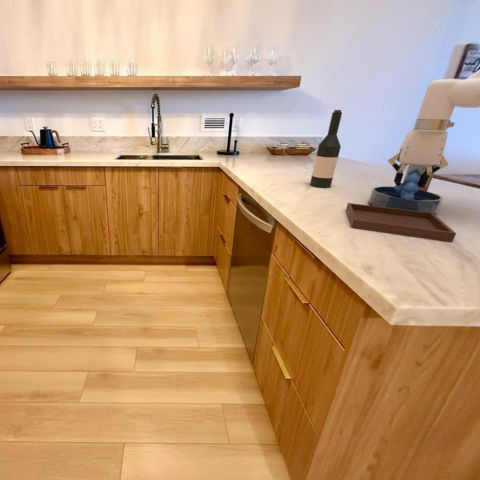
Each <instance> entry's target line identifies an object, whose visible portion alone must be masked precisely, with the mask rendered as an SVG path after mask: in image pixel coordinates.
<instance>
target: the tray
mask: <svg viewBox="0 0 480 480" xmlns="http://www.w3.org/2000/svg"><path fill="white" fill-rule="evenodd" d="M345 211H346V216H347V218H348V222H349V225H350V227H351V228H352V229H357V230H365V231H372V232H378V233H386V234H393V235H399V236H406V237H414V238H420V239H428V240H434V241H442V242H446V243H447V242H448V243H453V241H454V239H455V237H456V235H457V232H455V231H454V230H453V229H452V228H451V227H450V226H448V225H447V224H446V223H445V222H444V221H443V220H441V219H440V218H439V216H437V215H436V213H435V214H433V213H432V212H423V211H414V210H406V209H397V208H388V207H379V206H374V205H372V204H361V203H352V202H347V204H346V209H345Z"/></svg>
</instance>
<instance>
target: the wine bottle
mask: <svg viewBox="0 0 480 480" xmlns="http://www.w3.org/2000/svg"><path fill="white" fill-rule="evenodd" d="M342 115H343V112H342V109H334V110H333V111H332V113H331V117H330V121H329V126H328V131H327V135H326V136H325V137H324V138H323V139H322V140H321V141H320V143H319V144H318V146H317V150H316V151H317V152H316V155H315V160H314V165H313V169H312V174H311V178H310V181H309V185H310V186H309V187H314V188H319V189H328V188H331V187H332V183H333V179H334V175H335V171H336V168H337V163H338V159H339V155H340V151H341V149H342V146H341V142H340V140H339V138H338V132H339V127H340V125H341V120H342Z"/></svg>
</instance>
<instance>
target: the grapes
mask: <svg viewBox="0 0 480 480" xmlns="http://www.w3.org/2000/svg"><path fill="white" fill-rule="evenodd" d="M420 175H421V174H420V172H419V171H418V170H417V169H414V170H412V171H411V172H409V173H408V176H407V180H405V181H404V180H403V181H404V183H403V182H401V183H400V185H399V186H398V185H396V184H395V185H394V186H393V187H394V189H395V191H396V192H398V193H400V192H401V194H400V195H401V197H402V198H404V199H411V200H412V199H414V193H416V192H417V191H419V190H420V189H419V187H418V186H417V181H418V180H419V179H420V177H419V176H420Z"/></svg>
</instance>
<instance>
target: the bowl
mask: <svg viewBox="0 0 480 480" xmlns="http://www.w3.org/2000/svg"><path fill="white" fill-rule="evenodd" d="M400 194H401V192H400V193H398V192H396V191H395V189H394V186H392V185H391V186H389V185H387V186H385V185H384V186H375V187H373V188H372V189H371V191H370V195H369V198H368V203H369V205H371V206H379V207H388V208H397V209H406V210H414V211H423V212H432V213H433V214H435V215H436V214H437V213H438V211H439V209H440V207H441V204H442V202H443V200H444V198H443V196H441V195H440V194H437V193H434V192H432V191H431V192H430V191H428V190H427V191H423V190H419V191H417V192H416V193H414V199H412V200H411V199H404V198H402V197H401V195H400Z"/></svg>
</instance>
